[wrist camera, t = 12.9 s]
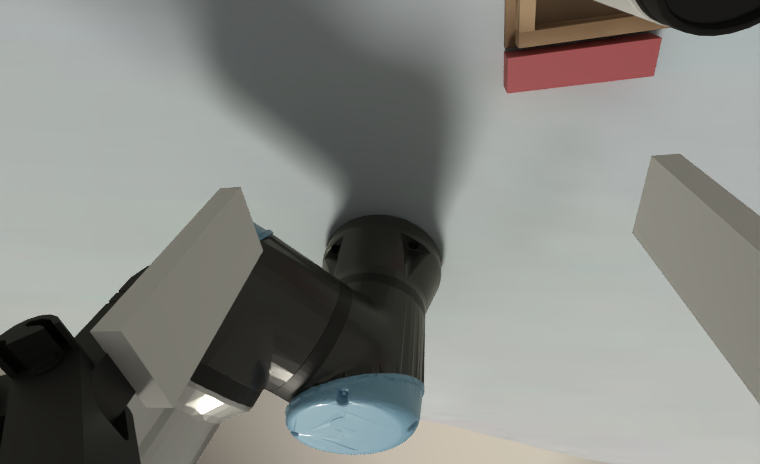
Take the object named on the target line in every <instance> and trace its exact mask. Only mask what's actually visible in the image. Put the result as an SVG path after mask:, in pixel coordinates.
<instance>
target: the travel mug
mask: <svg viewBox="0 0 760 464" xmlns="http://www.w3.org/2000/svg"><path fill="white" fill-rule="evenodd" d="M594 1H597V2H600V3H602V4H605V5H608V6H610V7H613V8H616V9H618V10H621V11H624V12H627V13H629V14H632V15H635V16H637V17H640V18H643V19H645V20H648V21H651V22H654V23H656V24H659V25H663V26H668V27H671V28H674V29H677V30H680V31H682V32H685V33H690V34H694V35H698V36H717V35H724V34H730V33H734V32H737V31H740V30H744V29H747V28H750V27H752V26H754V25H756V24H758V23H760V0H594Z"/></svg>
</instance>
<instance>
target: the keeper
mask: <svg viewBox="0 0 760 464" xmlns="http://www.w3.org/2000/svg"><path fill="white" fill-rule="evenodd" d="M663 28H670V27H668V26H663V25H659V24H656V23H654V22H651V21H648V20H645V19H643V18H640V17H637V16H635V15H632V14H629V13H627V12H624V11H621V10H618V9H616V8H613V7H610V6H608V5H605V4H602V3H600V2H597V1H594V0H505V27H504V47H505V48H510V47H518V48H525V47H532V46H540V45H547V44H554V43H562V42H569V41H576V40H583V39H591V38H598V37H605V36H613V35H620V34H627V33H634V32H642V31H649V30H656V29H663Z"/></svg>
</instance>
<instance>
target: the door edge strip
mask: <svg viewBox="0 0 760 464" xmlns="http://www.w3.org/2000/svg"><path fill="white" fill-rule="evenodd" d="M661 39H662V38H661V37H659V36H656V35H654V34H652V33H649V32H648V33H641V34H634V35H626V36H619V37H612V38H604V39H597V40H590V41H582V42H575V43H568V44H560V45H553V46H546V47H539V48H531V49H524V50H517V51H509V52H504V87H505V90H506V92H507V93H514V92H522V91H531V90H539V89H548V88H556V87H565V86H573V85H582V84H590V83H599V82H607V81H616V80H624V79H632V78H641V77H649V76H654V72H655V68H656V63H657V58H658V54H659V49H660V44H661Z"/></svg>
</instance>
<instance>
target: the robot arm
mask: <svg viewBox="0 0 760 464" xmlns="http://www.w3.org/2000/svg"><path fill="white" fill-rule="evenodd" d="M632 233H633V234H634V236H635V237H636V238H637V240H638V241H639V242H640V244H641V245H642V246H643V248H644V249H645V250H646V252H647V253H648V254H649V256H650V257H651V258H652V260H653V261H654V262H655V264H656V265H657V267H658V268H659V269H660V271H661V272H662V273H663V275H664V276H665V277H666V279H667V280H668V281H669V283H670V284H671V285H672V287H673V288H674V289H675V291H676V292H677V294H678V295H679V296H680V298H681V299H682V300H683V302H684V303H685V304H686V306H687V307H688V308H689V310H690V311H691V312H692V314H693V315H694V316H695V318H696V319H697V321H698V322H699V323H700V325H701V326H702V327H703V329H704V330H705V331H706V333H707V334H708V335H709V337H710V338H711V339H712V341H713V342H714V343H715V345H716V346H717V348H718V349H719V350H720V352H721V353H722V354H723V356H724V357H725V358H726V360H727V361H728V362H729V364H730V365H731V366H732V368H733V369H734V370H735V372H736V373H737V374H738V376H739V377H740V379H741V380H742V381H743V383H744V384H745V385H746V387H747V388H748V389H749V391H750V392H751V393H752V395H753V396H754V397H755V399H756V400H757V401H758V403H759V404H760V216H759V215H758V214H756V213H755V212H754V211H753V210H751V209H750V208H749V207H747V206H746V205H745V204H744V203H742V202H741V201H740V200H738V199H737V198H736V197H735V196H733V195H732V194H731V193H729V192H728V191H727V190H726V189H724V188H723V187H722V186H720V185H719V184H718V183H717V182H715V181H714V180H713V179H711V178H710V177H709V176H708V175H706V174H705V173H704V172H703V171H701V170H700V169H699V168H697V167H696V166H695V165H694V164H692V163H691V162H690V161H688V160H687V159H686V158H685V157H683V156H682V155H681V154H671V155H657V156H651V160H650V164H649V168H648V172H647V176H646V180H645V184H644V188H643V192H642V196H641V200H640V204H639V208H638V212H637V216H636V220H635V224H634V228H633V232H632ZM322 268H323V269H322ZM322 268H321V267H320V266H318V265H317V264H315V263H314V262H312V261H311V260H309V259H308V258H306V257H305V256H303V255H302V254H301V253H299V252H298V251H296V250H295V249H293V248H292V247H290V246H289V245H287V244H286V243H284V242H283V241H281V240H280V239H279V238H277V237H276V236H274V235H273V232H272V231H271V230H265V229H263V228H262V227H260V226H259V225H257V224H255V223H254V222H253V221H252V218H251V215H250V212H249V209H248V207H247V204H246V201H245V198H244V195H243V193H242V190H241V187H233V188H220V189H219V190H218V191H217V192H216V194H215V195H214V196H213V197H212V198H211V199H210V200H209V201H208V202H207V203H206V205H205V206H204V207H203V208H202V209H201V210H200V211H199V212H198V213H197V214H196V216H195V217H194V218H193V219H192V220H191V221H190V222H189V223H188V224H187V225H186V226H185V228H184V229H183V230H182V231H181V232H180V233H179V234H178V235H177V236H176V237H175V239H174V240H173V241H172V242H171V243H170V244H169V245H168V246H167V247H166V248H165V250H164V251H163V252H162V253H161V254H160V255H159V256H158V257H157V258H156V259H155V261H154V262H153V263H152V264H151V265H150V266H147V267H146V268H144V269H143V270H141V271H140V272H138V273H137V274H135V275H134V276H132V277H131V278H130V279H129V280H128V281H127V282H126V283H125V284H124V285H123V287H122V288H121V289H120V290H119V293H116V294H115V295H114V296H113V297H112V298H111V299H110V300H109V304H106V305H105V306H104V307H103V308H102V309H101V310H100V311H99V312H98V313H97V314H96V315H95V316H94V317H93V319H92V320H91V321H90V322H89V323H88V324H87V325H86V326H85V327H84V328H83V329H82V330H81V331H80V332H79V334H78V335H77V336H76V337H75V338H74V337H73V336H72V334H71V333H70V332H69V331H68V329H67V328H66V327H65V326H64V324H63V323H62V322H61V320H60V319H59V318H58V317H57V316H54V315H41V316H37V317H34V318H31V319H28V320H25V321H23V322H21V323H19V324H17V325H15V326H13V327H12V328H10V329H9V330H7V331H6V332H5V333H3V334H2V335H0V368H1V369H2V370H3V371H4V372H5V373H6V375H2V376H0V464H196V463H197V462H198V460H199V458H200V457H201V455H202V454H203V452H204V450H205V449H206V447H207V445H208V444H209V442H210V441H211V439H212V437H213V436H214V434H215V432H216V431H217V429H218V427H219V426H220V424H221V423H222V422H223V421H225V420H226V419H228V418H231V417H234V416H237V415H240V414H243V413H246V412H248V411H250V410H251V409H252V407H253V406H254V404H255V402H256V401H257V399H258V397H259V396H260V394H261V392H262V391H263V390H264V389H266V390H268V391H270V392H272V393H274V394H275V395H277V396H279V397H281V398H282V399H284V400H286V401H287V402H289V405H288V406H287V408H286V411H285V413H286V425H287V427H288V429H289V430H290V431H291V434H292V435H293V436H294V437H295V438H296V439H297V440H299V441H300V442H302V443H304V444H306V445H308V446H310V447H313V448H315V449H319V450H322V451H326V452H331V453H338V454H349V455H352V454H353V455H356V454H372V453H377V452H382V451H385V450H388V449H391V448H393V447H396V446H398V445H400V444H401V443H403V442H405V441H406V440H407V439H408V438H409V437H410V436H411V435H412V434H413V433H414V431H415V430H416V428H417V426H418V423H419V420H420V412H421V402H422V397H423V395H424V348H425V314H426V312H427V310H428V308H429V306H430V304H431V302H432V300H433V298H434V296H435V294H436V292H437V290H438V287H439V284H440V279H441V258H440V254H439V251H438V249H437V247H436V245H435V243H434V242H433V240H432V239H431V238H430V237H429V236H428V235H427V234H426V233H425V232H424V231H423V230H422V229H420V228H419V227H417V226H416V225H414V224H412V223H410V222H408V221H406V220H403V219H400V218H396V217H392V216H384V215H372V216H365V217H360V218H357V219H354V220H352V221H350V222H348V223H346V224H344V225H343V226H341V227H340V228H339V229H338V230H337V231H336V232H335V233H334V234H333V236H332V237H331V239H330V241H329V243H328V246H327V248H326V251H325V254H324V258H323V267H322Z"/></svg>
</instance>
